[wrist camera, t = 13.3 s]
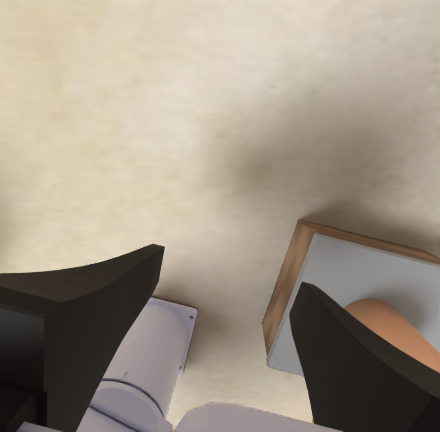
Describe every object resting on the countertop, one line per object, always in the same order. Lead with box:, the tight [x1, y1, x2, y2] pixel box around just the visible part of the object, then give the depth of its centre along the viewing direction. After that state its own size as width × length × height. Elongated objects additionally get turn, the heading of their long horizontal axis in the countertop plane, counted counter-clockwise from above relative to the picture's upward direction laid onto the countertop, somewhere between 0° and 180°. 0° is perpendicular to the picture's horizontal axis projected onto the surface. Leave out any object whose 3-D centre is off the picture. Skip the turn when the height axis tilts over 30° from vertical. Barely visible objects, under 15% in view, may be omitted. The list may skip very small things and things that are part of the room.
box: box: [262, 220, 440, 356], centre depth 21 cm, size 12×12×4 cm
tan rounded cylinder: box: [344, 299, 440, 373], centre depth 16 cm, size 5×5×4 cm
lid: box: [267, 233, 440, 377], centre depth 18 cm, size 12×12×1 cm
